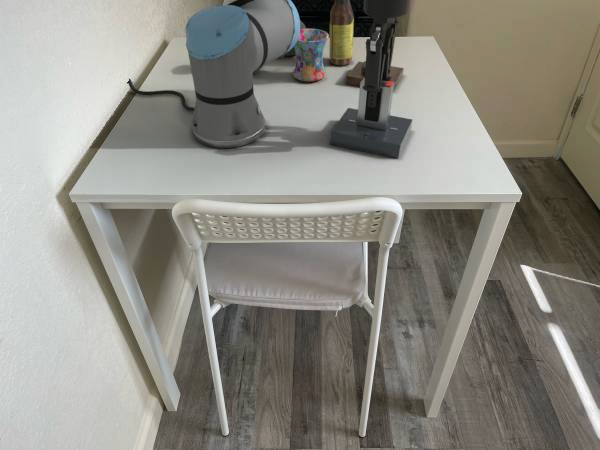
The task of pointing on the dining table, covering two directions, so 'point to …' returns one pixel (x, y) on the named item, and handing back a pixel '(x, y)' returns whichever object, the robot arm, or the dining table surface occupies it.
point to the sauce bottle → (341, 32)
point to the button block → (359, 74)
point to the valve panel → (371, 135)
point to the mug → (310, 55)
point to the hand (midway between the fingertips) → (373, 116)
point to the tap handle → (384, 106)
